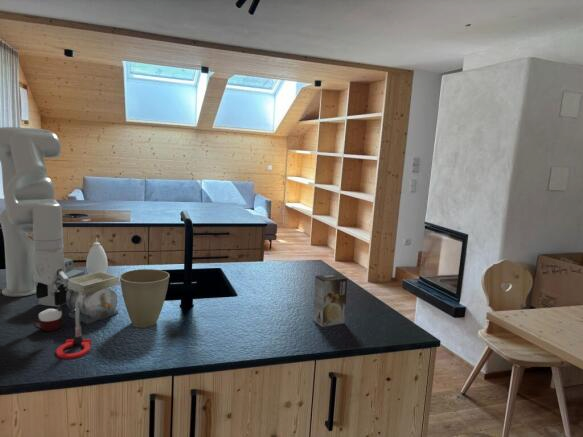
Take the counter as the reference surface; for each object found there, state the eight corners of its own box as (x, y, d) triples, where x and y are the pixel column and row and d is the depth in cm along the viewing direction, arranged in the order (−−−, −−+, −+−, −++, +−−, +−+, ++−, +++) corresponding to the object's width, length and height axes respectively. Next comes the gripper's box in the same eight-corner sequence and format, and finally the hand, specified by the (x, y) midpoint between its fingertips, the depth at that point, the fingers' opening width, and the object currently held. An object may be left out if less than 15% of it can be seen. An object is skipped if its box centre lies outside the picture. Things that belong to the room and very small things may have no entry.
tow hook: (84, 359, 117) (95, 342, 126) (82, 314, 114) (93, 300, 123) (51, 360, 116) (64, 343, 125) (48, 315, 113) (61, 300, 122)
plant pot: (149, 336, 131) (149, 285, 129) (109, 327, 136) (108, 277, 134) (178, 319, 145) (178, 272, 143) (141, 311, 150) (141, 266, 148)
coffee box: (334, 316, 154) (337, 272, 152) (345, 323, 149) (348, 278, 146) (312, 320, 150) (315, 275, 148) (321, 327, 145) (325, 280, 142)
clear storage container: (61, 315, 143) (60, 278, 141) (97, 304, 154) (97, 269, 152) (90, 327, 135) (89, 288, 133) (126, 314, 146) (125, 278, 144)
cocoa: (33, 335, 129) (28, 297, 127) (37, 325, 135) (33, 289, 132) (68, 331, 132) (65, 293, 130) (72, 322, 138) (68, 286, 135)
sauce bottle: (94, 275, 185) (93, 234, 182) (111, 277, 184) (110, 235, 181) (82, 281, 178) (81, 237, 175) (100, 283, 177) (100, 239, 174)
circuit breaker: (75, 309, 149) (73, 266, 146) (38, 304, 152) (36, 262, 149) (89, 301, 156) (88, 261, 154) (54, 297, 159) (52, 257, 156)
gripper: (20, 242, 130) (23, 297, 133) (52, 251, 121) (55, 310, 124) (45, 238, 137) (47, 291, 139) (78, 246, 127) (80, 303, 130)
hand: (51, 300), depth 131 cm, fingers open, 9 cm apart
